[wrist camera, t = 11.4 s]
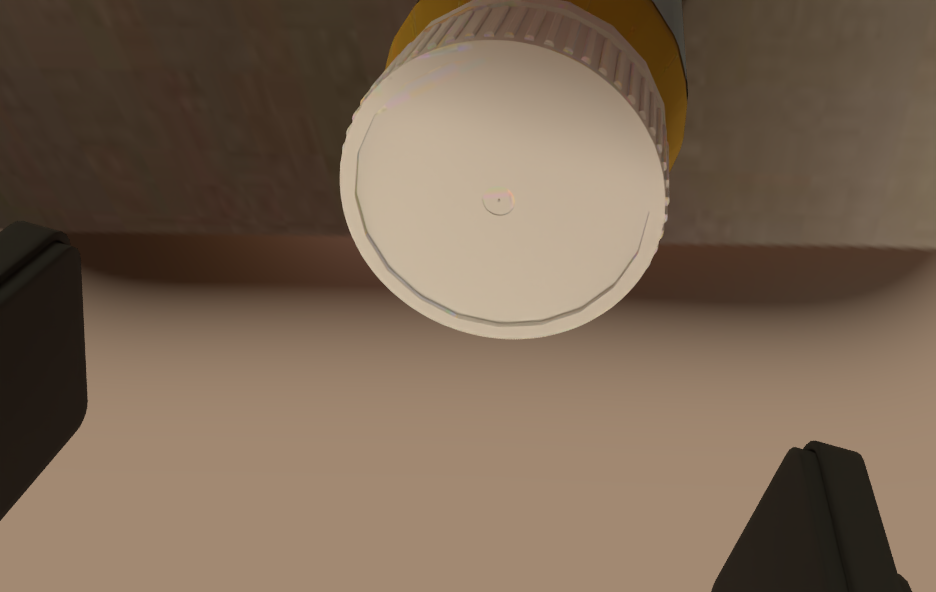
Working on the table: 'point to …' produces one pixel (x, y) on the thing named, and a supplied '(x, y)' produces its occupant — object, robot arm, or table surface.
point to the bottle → (518, 159)
